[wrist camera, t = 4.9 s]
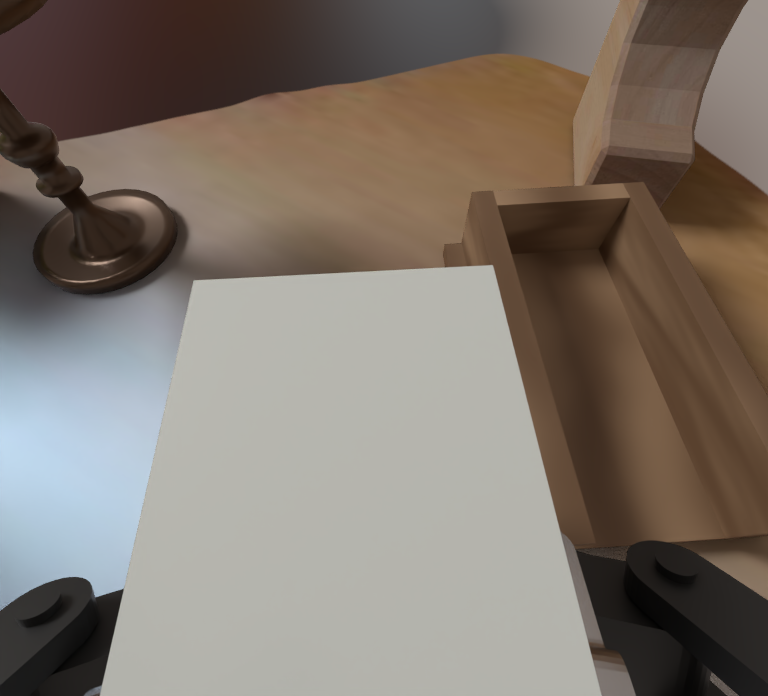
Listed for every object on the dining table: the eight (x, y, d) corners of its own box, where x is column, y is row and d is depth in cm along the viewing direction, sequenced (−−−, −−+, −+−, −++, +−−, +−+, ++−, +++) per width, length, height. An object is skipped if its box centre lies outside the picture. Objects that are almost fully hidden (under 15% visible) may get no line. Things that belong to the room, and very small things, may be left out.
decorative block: (654, 222, 28) (1072, -351, 11) (570, 210, 29) (834, -343, 12) (642, 129, 33) (910, -354, 16) (571, 121, 34) (754, -348, 17)
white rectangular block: (327, 659, 14) (13, 1081, 2) (329, 487, 17) (193, 280, 5) (437, 651, 15) (684, 1021, 2) (420, 481, 18) (492, 264, 5)
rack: (496, 555, 18) (529, 547, 14) (443, 254, 27) (452, 193, 23) (760, 536, 18) (874, 523, 14) (619, 244, 27) (662, 180, 23)
